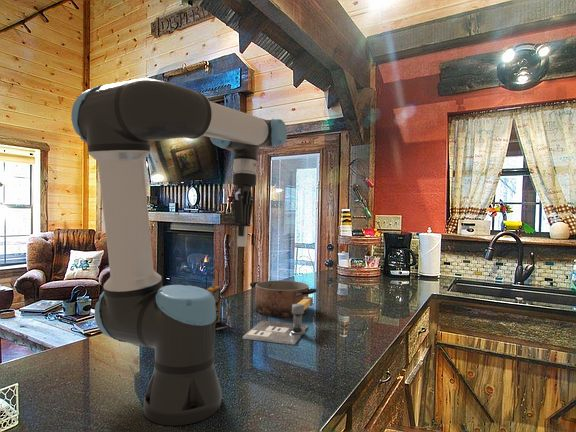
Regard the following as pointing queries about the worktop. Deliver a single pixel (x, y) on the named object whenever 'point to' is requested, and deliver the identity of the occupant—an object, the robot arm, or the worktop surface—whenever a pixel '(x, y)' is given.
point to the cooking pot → (279, 297)
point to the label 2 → (277, 329)
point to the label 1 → (259, 333)
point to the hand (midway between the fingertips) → (241, 246)
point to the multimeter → (216, 298)
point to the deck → (288, 338)
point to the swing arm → (302, 305)
